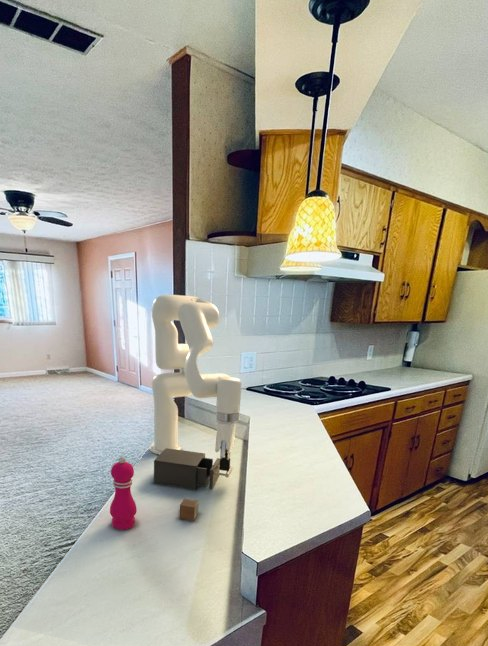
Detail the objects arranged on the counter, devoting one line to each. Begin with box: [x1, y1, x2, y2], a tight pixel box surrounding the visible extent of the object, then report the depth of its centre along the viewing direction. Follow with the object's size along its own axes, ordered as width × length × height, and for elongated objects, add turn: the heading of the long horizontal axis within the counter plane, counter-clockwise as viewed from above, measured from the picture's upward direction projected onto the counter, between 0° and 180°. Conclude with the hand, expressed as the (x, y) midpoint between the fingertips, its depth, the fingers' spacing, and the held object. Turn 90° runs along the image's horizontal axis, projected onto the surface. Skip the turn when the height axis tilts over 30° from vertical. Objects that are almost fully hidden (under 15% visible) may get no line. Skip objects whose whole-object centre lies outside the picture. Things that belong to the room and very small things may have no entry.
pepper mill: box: [109, 456, 138, 531], centre depth 110 cm, size 7×7×20 cm
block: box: [178, 498, 200, 522], centre depth 119 cm, size 4×4×4 cm
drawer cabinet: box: [153, 448, 206, 491], centre depth 142 cm, size 15×13×9 cm
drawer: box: [196, 457, 234, 490], centre depth 140 cm, size 18×11×7 cm, turn 77°
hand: (224, 469), depth 138 cm, fingers closed
